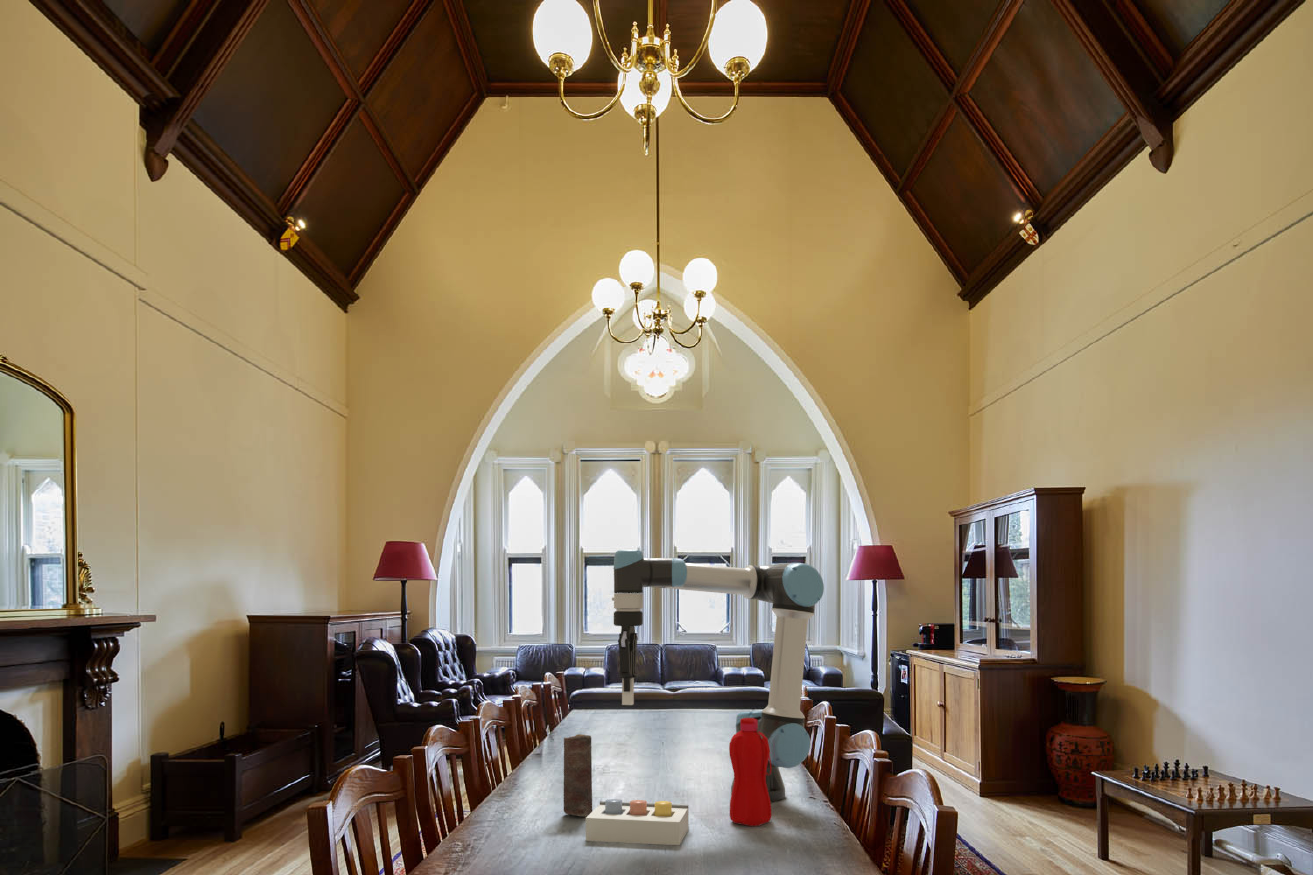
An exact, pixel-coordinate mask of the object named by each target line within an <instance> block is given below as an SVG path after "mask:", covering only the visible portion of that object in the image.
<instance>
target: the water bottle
mask: <svg viewBox="0 0 1313 875" xmlns="http://www.w3.org/2000/svg"><path fill="white" fill-rule="evenodd" d="M740 723H741V730H740V731H739V732H738V733H735V734H733V735H732V737H731V739H730V741H729V744H728V745H729V747H728V749H729V758H730V762H731V766H732V772H733V779H734V784H733V789H732V795H731V794H730V800H729V818H730V820H731V821H732V822H733V823H734V824H737V825H738V824H739V825H743V826H748V827H758V826H761V825H763V824H764V825H765V824H766V823H767V822H768V823H770V821H771V819H772V815H773V814H772V804H771V802H772V801H770V798H769V793H768V789H767V785H766V774H767V772H766V770H767V765H768V759H769V760H770V755H769V754H770V748H769V743H768V739H767V738H766V737H765V735H764V734H762V733H761V732H759V731H758V720H757V719H754V718H743V719H741V722H740ZM770 774H771V760H770ZM770 774H767V775H770Z"/></svg>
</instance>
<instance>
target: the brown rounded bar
mask: <svg viewBox="0 0 1313 875" xmlns="http://www.w3.org/2000/svg"><path fill="white" fill-rule="evenodd" d="M592 762H593V761H592V735H587V734H575V735H574V736H568V737H563V812H564V813H565V815H570V816H577V817H584V818H586V817H587V816H588V815H589V814H590V813H591V812H592V811H593V781H592V780H593V779H592V778H593V777H592V774H593V773H592V771H593V770H592Z"/></svg>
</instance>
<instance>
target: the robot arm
mask: <svg viewBox="0 0 1313 875" xmlns="http://www.w3.org/2000/svg"><path fill="white" fill-rule="evenodd" d="M612 569H613V596H612V597H611V601H612V602H613V609H615V611H613V625H614V626H615V627H621V628H620V633H619V634H618V640H617V644H618V655H619V672H620V673H619V676H618V679H622V680H621V681H622V682H621V684H622V685H621V705H622V706H634V704H635V699H634V697H635V696H634V695H635V692H634V691H635V689H634V688H635V680H634V679H635V678H638V674H636V668H637V667H636V666H637V650H638V649H637V647H638V639H639V637H638V633H637V632H636V627H641V626H643V622H644V620H643V619H644V618H643V614H644V612H643V611H642V609H643V608H644V594H643V593H644V591H643V590H644V588H656V589H668V590H669V589H673V590H684V591H693V592H694V591H695V592H706V593H716V594H717V593H718V594H727V595H728V594H729V595H738V596H739V595H741V596H742V595H743V597H744V598H745V599H746V600H756V601H761V602H765V603H766V602H767V603H771V611H772V612H773V613H774V615H775V616H776V620H775V630H774V638H773V639H774V641H773V649H772V650H773V651H772V662H771V672H770V683H769V691H768V692H769V695H768V704H767V705H766V707H765V708H763V709H762V710H758V711H757V710H753V711H742V712H739V713H738V714H736V721H735V722H736V723H735V732H736V733H738V732H739V731H740V730H741V723H740V722H741V719H743V718H754V719H757V720H758V731H759V732H761V733H762V734H764V735H765V737H766V738H767V739H768V743H769V748H770V754H769V755H770V760H771V774H770V760H769V759H768V765H767V770H766V772H767V774H770V775H767V774H766V785H767V789H768V793H769V798H770V802H777V801H780V800H783V799H785V798H786V787H785V784H784V781H783V777H782V775H781V774H782V773H781V771H780V768H783V769H791V768H794V767H795V768H796V767H797V766H799V765H800V764H801V763H803V761H805V760H806V759H807V757H808V755H809V753H810V749H811V738H810V734H809V733H808V731H807V730H806V728H805V719H806V717H805V715H804V713H803V712H802V711H801V703H802V702H801V700H802V692H803V680H804V665H805V655H806V646H807V645H806V644H807V634H808V623H809V622H808V621H809V620H810V619H811V618H812V617H813V616H815V608H816V607H815V606H816V605H817V604H818V602H820V601H821V599H822V598H823V595H824V589H825V585H824V580H823V578H822V575H821V574H820V573H819V571H818V570H817V569H816V568H815V567H814V566H812V565H810V564H808V563H803V562H802V563H801V562H790V563H776V564H769V565H768V564H767V565H749V564H748V565H746V566H745V568H743V567H733V566H724V565H711V564H702V563H701V564H700V563H690V562H686V561H685V560H684V559H682V558H676V557H675V558H674V557H669V558H668V557H654V558H652V557H651V558H648V557H644V553H643V551H642V550H636V549H622V550H621V549H619V550H617V551H616V552H615V553H614V559H613V568H612ZM736 733H735V734H736ZM733 784H734V778H732V782H731V785H730V786H731V787H730V796H731V795H732V789H733Z"/></svg>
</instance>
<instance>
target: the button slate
mask: <svg viewBox="0 0 1313 875" xmlns="http://www.w3.org/2000/svg"><path fill="white" fill-rule="evenodd" d="M622 802H623V800H622V799H619V798H609V799H606V800H605V814H621V815H622Z"/></svg>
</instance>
